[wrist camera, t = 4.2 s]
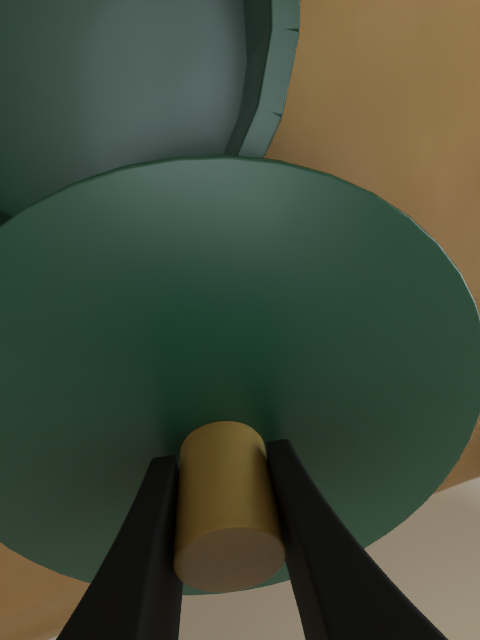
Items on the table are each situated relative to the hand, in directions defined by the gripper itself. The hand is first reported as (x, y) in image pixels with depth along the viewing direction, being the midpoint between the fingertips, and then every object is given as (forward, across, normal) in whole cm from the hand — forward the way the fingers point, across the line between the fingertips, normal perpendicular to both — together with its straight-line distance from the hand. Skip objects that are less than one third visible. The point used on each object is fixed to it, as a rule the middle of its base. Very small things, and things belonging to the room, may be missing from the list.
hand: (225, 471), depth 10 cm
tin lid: (+1, 0, 0) cm, 1 cm away
